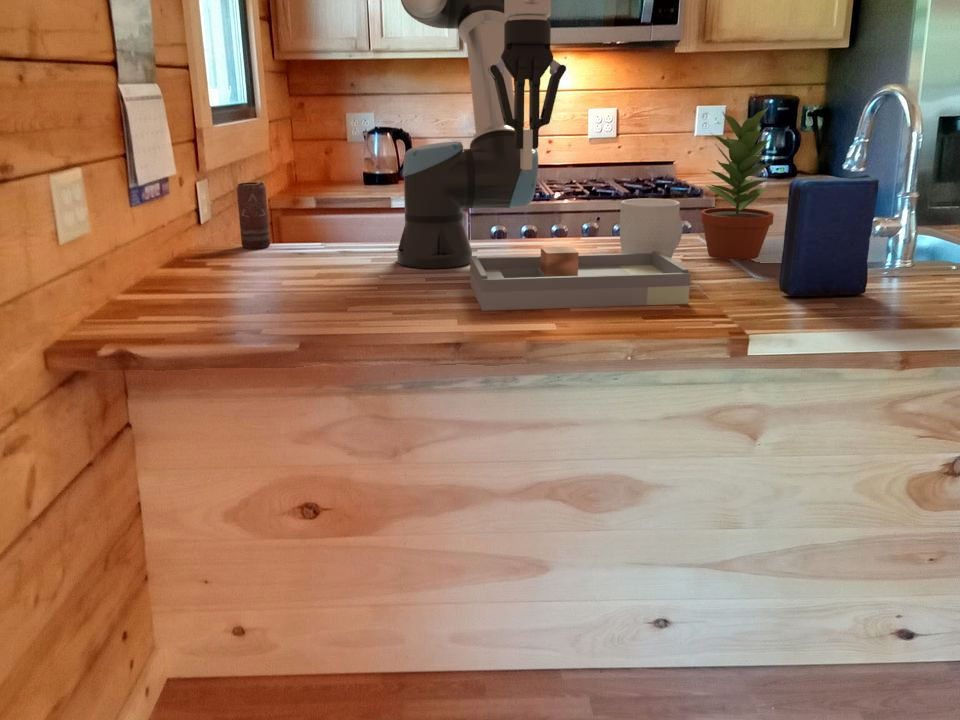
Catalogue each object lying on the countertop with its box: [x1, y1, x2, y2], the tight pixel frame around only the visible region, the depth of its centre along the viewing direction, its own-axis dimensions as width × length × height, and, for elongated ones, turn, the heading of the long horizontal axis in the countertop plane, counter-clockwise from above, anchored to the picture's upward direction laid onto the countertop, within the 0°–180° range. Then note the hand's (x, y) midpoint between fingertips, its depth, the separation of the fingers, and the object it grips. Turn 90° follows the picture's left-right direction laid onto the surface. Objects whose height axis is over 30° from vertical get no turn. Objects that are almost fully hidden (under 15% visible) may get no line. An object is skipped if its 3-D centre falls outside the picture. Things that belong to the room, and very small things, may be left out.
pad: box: [620, 265, 691, 306], centre depth 147 cm, size 7×18×3 cm, turn 7°
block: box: [540, 246, 580, 276], centre depth 148 cm, size 6×6×4 cm
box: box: [469, 251, 692, 312], centre depth 145 cm, size 34×18×6 cm, turn 97°
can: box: [236, 181, 271, 250], centre depth 187 cm, size 6×6×14 cm
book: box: [778, 174, 880, 297], centre depth 141 cm, size 14×5×20 cm, turn 97°
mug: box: [619, 197, 683, 259], centre depth 163 cm, size 15×11×13 cm
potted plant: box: [699, 105, 775, 261], centre depth 173 cm, size 15×15×30 cm
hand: (526, 168), depth 144 cm, fingers closed
